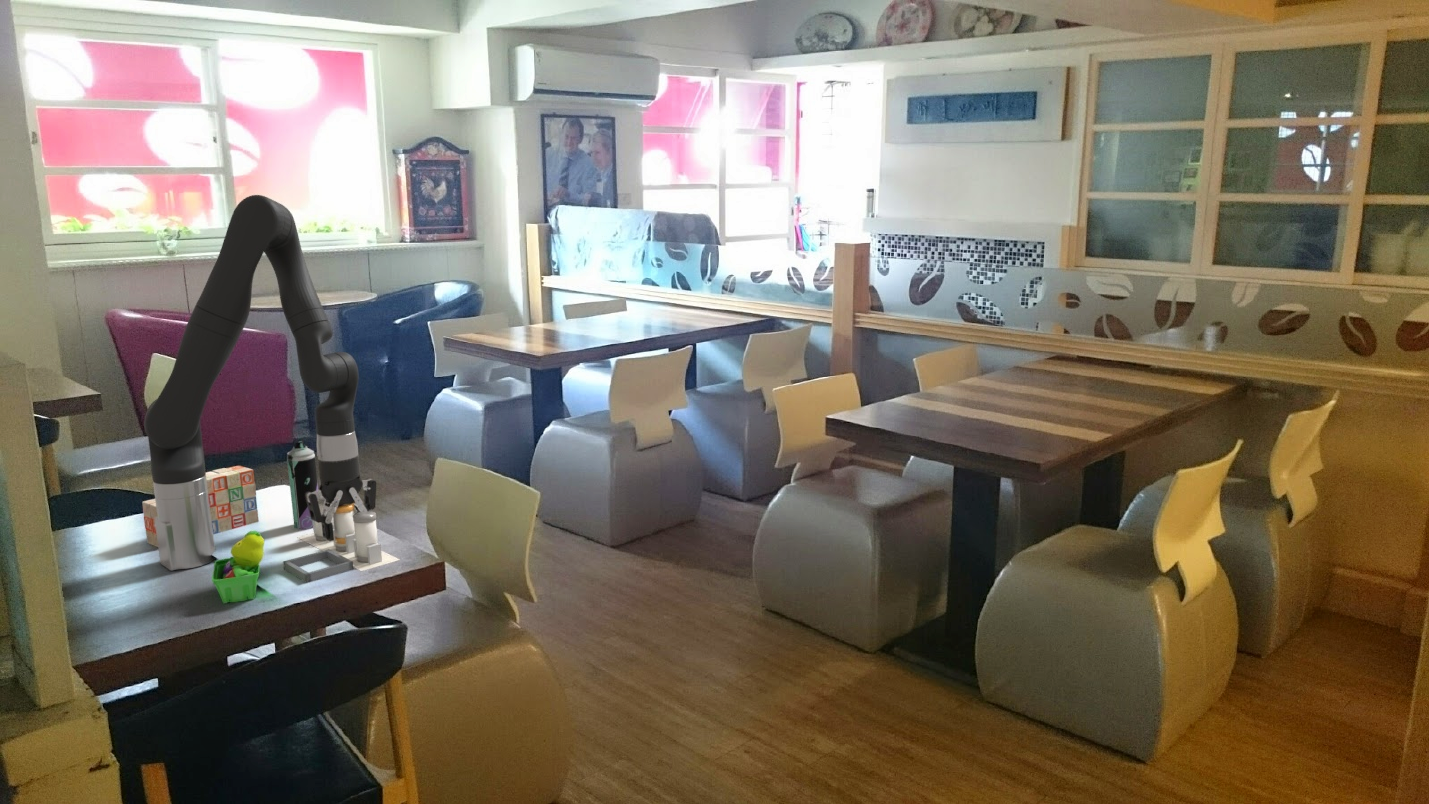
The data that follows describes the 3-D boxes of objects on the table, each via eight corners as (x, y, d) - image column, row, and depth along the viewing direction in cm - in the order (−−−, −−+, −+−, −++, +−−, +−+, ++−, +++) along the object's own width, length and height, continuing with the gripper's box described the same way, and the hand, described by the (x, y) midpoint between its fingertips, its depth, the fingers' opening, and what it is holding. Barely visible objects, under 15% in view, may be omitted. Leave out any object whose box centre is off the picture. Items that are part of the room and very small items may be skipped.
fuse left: (321, 542, 208) (317, 500, 206) (312, 538, 211) (307, 496, 209) (341, 537, 211) (337, 495, 209) (331, 533, 214) (327, 491, 212)
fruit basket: (217, 585, 190) (210, 528, 188) (269, 578, 194) (262, 521, 191) (215, 608, 180) (207, 547, 178) (269, 599, 184) (262, 539, 181)
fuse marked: (341, 553, 202) (337, 509, 200) (332, 548, 205) (327, 505, 203) (361, 547, 205) (357, 504, 203) (351, 543, 208) (347, 500, 206)
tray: (307, 590, 187) (306, 574, 187) (284, 576, 194) (283, 561, 194) (354, 576, 194) (352, 561, 193) (330, 563, 200) (328, 549, 200)
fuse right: (363, 564, 196) (359, 519, 194) (353, 559, 198) (348, 514, 197) (383, 558, 198) (379, 514, 197) (373, 553, 201) (369, 509, 199)
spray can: (312, 536, 216) (303, 445, 212) (289, 535, 217) (279, 444, 213) (327, 528, 221) (318, 438, 217) (304, 526, 223) (295, 437, 218)
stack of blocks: (161, 550, 210) (153, 492, 207) (146, 544, 214) (139, 487, 211) (259, 522, 227) (253, 468, 224) (244, 517, 230) (238, 464, 228)
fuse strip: (361, 578, 192) (359, 553, 191) (297, 544, 212) (295, 521, 211) (400, 567, 198) (398, 542, 197) (334, 534, 217) (332, 511, 216)
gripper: (310, 465, 193) (319, 549, 197) (381, 450, 203) (388, 531, 207) (293, 458, 198) (302, 540, 202) (363, 444, 208) (370, 523, 212)
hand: (345, 535), depth 204 cm, fingers open, 6 cm apart
